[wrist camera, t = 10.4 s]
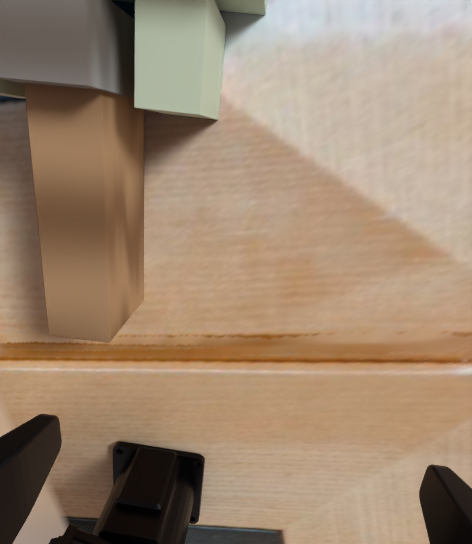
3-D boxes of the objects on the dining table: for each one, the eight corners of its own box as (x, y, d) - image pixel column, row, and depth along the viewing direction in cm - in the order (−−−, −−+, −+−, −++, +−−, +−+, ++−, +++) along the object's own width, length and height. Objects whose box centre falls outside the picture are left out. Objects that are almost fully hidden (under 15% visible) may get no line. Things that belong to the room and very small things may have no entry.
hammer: (147, 300, 22) (100, 361, 16) (91, 293, 23) (24, 351, 17) (149, 32, 17) (83, -23, 11) (78, 26, 18) (-25, -31, 12)
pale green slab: (253, 123, 18) (241, 116, 12) (-16, 94, 19) (-165, 72, 13) (269, -17, 16) (265, -119, 10) (-33, -44, 17) (-222, -155, 11)
